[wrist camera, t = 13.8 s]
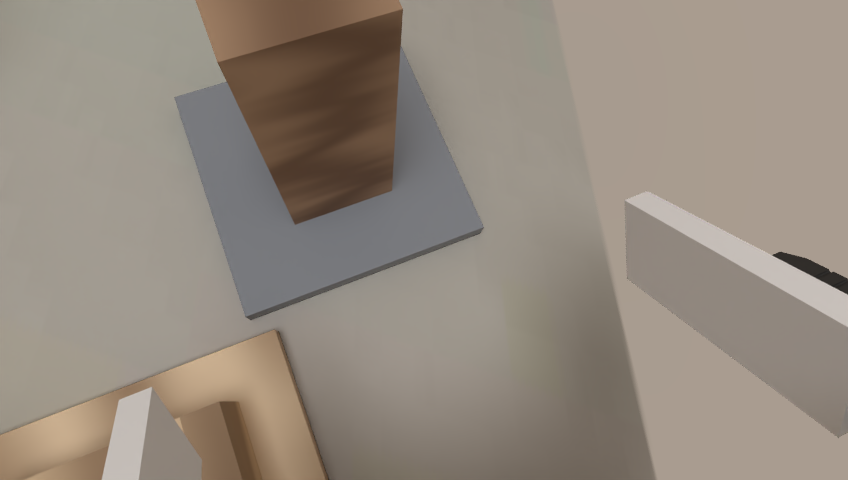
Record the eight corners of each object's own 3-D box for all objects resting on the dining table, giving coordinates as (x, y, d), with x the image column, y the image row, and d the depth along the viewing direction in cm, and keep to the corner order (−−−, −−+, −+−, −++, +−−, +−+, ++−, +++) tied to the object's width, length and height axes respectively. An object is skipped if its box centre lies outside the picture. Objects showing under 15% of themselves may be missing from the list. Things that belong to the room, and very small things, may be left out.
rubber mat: (250, 319, 25) (245, 316, 24) (181, 107, 28) (174, 97, 27) (480, 233, 28) (483, 227, 27) (394, 43, 30) (394, 32, 30)
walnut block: (295, 224, 26) (217, 62, 14) (262, 136, 27) (164, -88, 15) (392, 190, 27) (402, 9, 14) (356, 107, 28) (338, -128, 16)
